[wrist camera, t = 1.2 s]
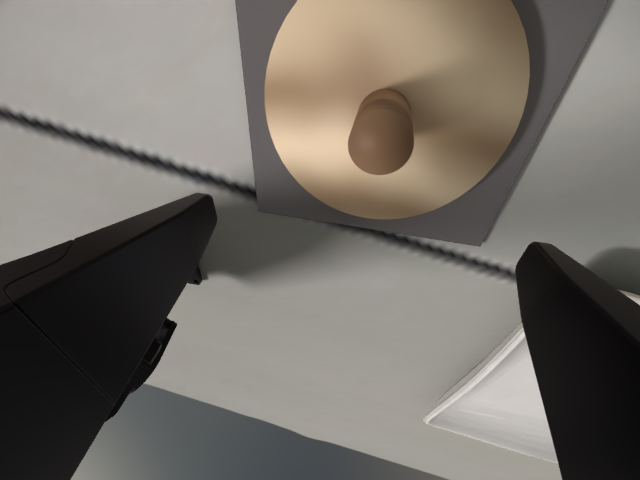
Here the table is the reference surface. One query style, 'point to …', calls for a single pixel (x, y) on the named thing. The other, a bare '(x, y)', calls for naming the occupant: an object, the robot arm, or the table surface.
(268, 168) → the mat
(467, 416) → the square plate
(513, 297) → the table surface
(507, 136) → the lid
